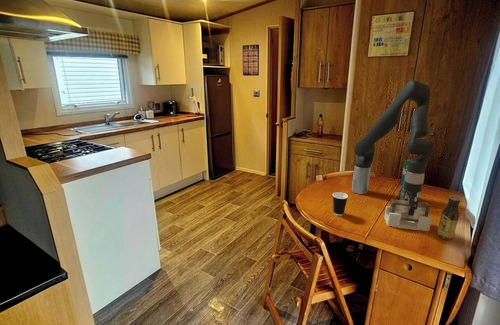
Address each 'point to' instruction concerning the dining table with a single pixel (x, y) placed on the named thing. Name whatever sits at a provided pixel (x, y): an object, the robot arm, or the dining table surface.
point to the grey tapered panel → (403, 209)
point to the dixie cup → (339, 203)
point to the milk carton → (401, 192)
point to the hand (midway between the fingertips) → (408, 211)
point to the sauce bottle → (449, 219)
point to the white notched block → (395, 221)
